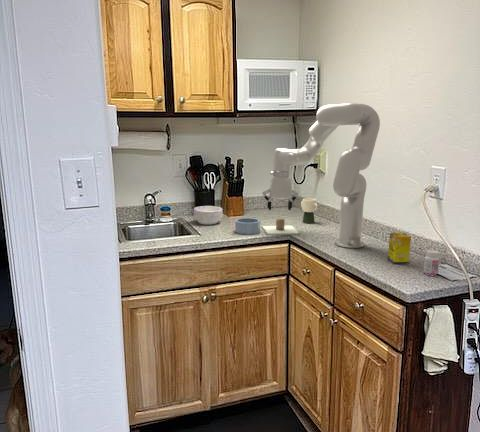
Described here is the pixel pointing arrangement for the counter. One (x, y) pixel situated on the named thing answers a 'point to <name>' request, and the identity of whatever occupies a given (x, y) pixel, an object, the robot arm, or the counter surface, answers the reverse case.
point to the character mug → (309, 209)
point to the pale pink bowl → (208, 214)
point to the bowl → (247, 226)
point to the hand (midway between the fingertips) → (279, 209)
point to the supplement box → (399, 248)
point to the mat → (288, 234)
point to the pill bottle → (431, 262)
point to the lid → (280, 228)
